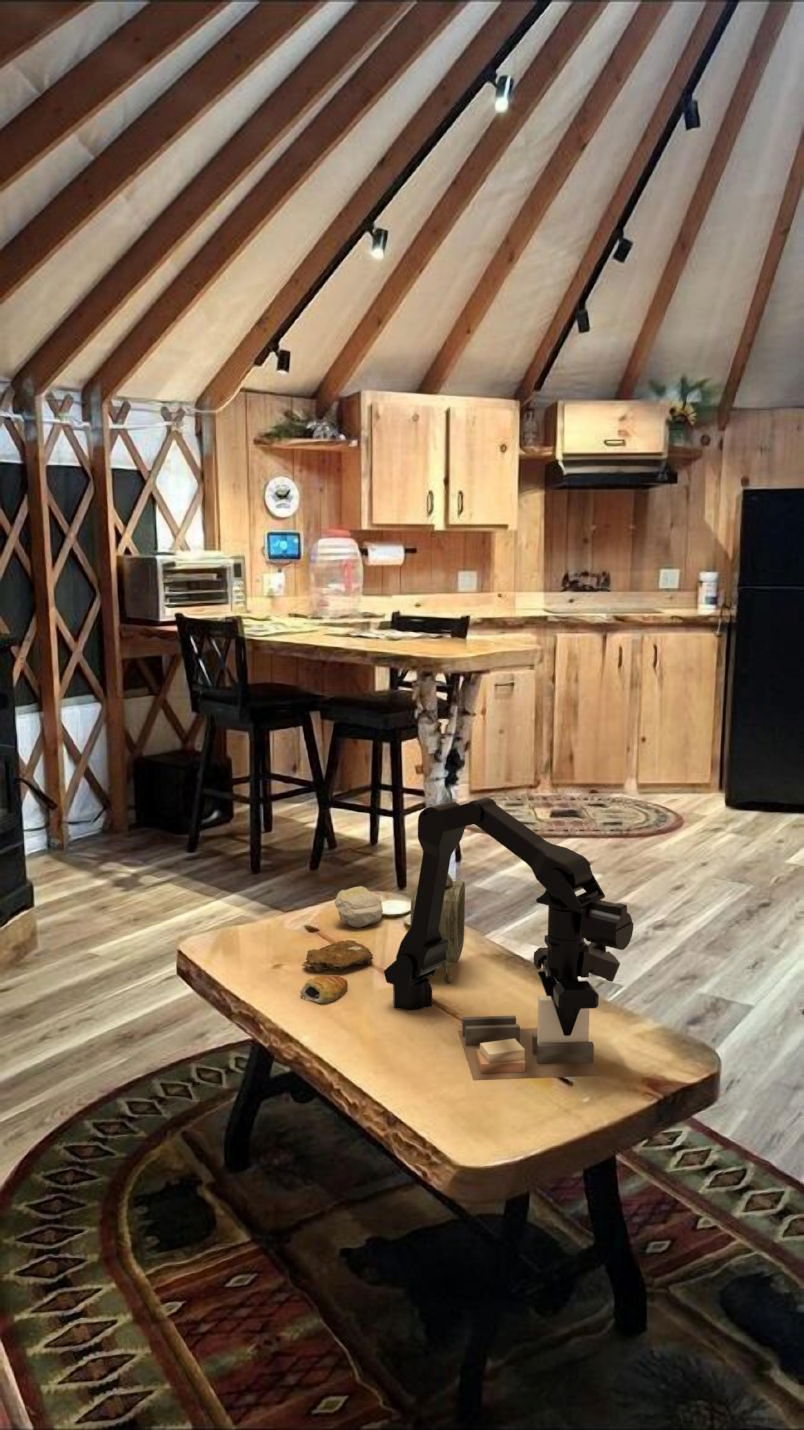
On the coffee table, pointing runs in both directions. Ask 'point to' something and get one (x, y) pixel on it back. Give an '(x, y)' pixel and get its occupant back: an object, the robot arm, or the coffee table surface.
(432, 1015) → the coffee table surface
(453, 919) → the tabletop clock
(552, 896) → the robot arm
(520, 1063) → the cedar offcut
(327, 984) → the pastry
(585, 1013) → the off-white sheet
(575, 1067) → the walnut rack
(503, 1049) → the birch offcut
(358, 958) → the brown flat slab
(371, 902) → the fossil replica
